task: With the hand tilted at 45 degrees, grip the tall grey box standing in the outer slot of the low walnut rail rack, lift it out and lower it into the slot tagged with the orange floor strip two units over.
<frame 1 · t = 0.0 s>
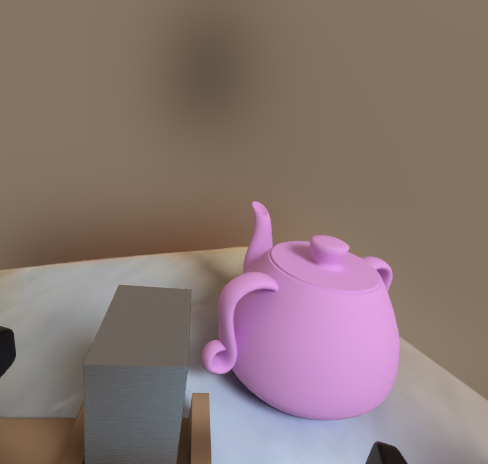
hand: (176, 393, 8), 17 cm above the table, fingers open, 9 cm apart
teapot: (283, 350, 35), on the table
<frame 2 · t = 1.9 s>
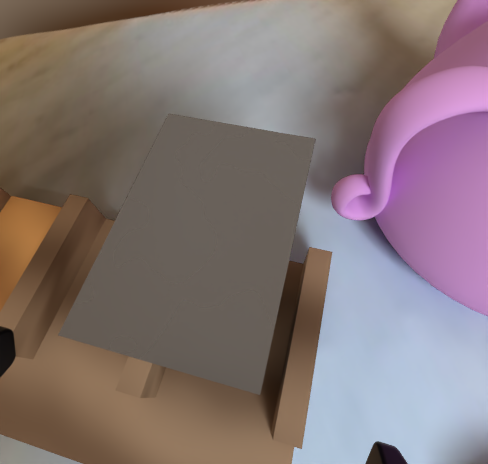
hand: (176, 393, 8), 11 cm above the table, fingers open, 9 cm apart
rail rack: (124, 298, 20), on the table
tall grey box: (235, 325, 18), point 1 cm above the table, touching rail rack
teapot: (463, 184, 23), on the table
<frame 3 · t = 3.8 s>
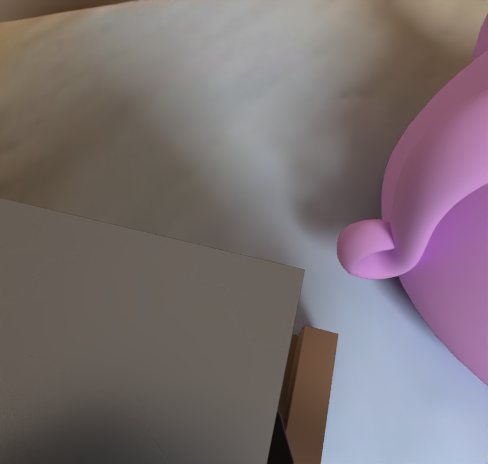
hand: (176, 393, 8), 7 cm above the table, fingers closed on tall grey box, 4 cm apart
rail rack: (55, 379, 15), on the table
tall grey box: (201, 430, 13), point 1 cm above the table, touching gripper, rail rack
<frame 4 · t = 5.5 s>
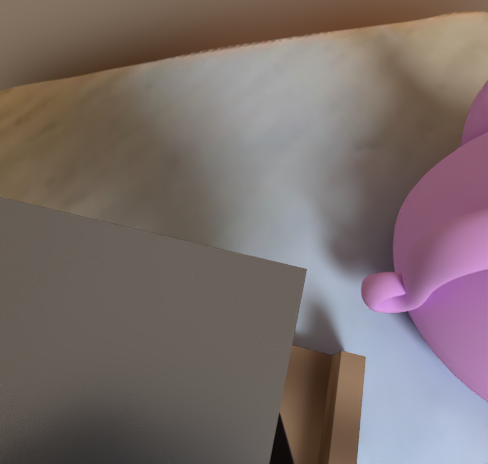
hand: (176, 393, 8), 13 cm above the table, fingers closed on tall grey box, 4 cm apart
rail rack: (146, 390, 19), on the table
tall grey box: (201, 430, 13), point 6 cm above the table, touching gripper
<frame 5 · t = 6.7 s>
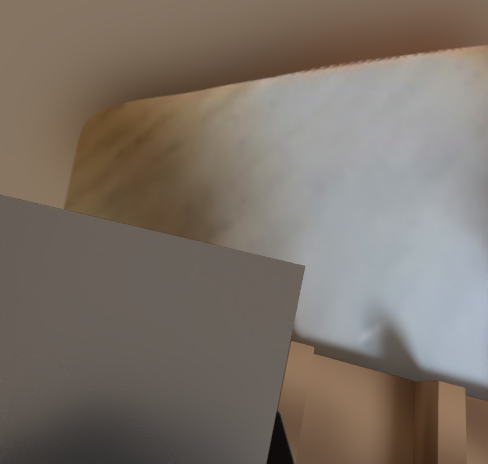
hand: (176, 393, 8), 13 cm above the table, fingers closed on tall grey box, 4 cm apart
rail rack: (345, 455, 17), on the table
tall grey box: (201, 429, 13), point 6 cm above the table, touching gripper
when the fingers open (9 cm above the table, at t = 7.7 s): tall grey box drops 1 cm, resting on rail rack.
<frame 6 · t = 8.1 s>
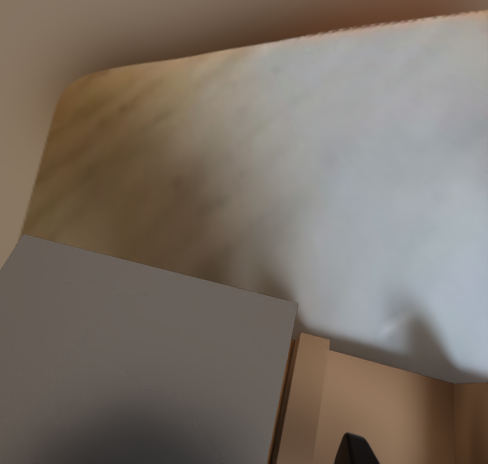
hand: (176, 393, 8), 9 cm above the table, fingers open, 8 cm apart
tall grey box: (207, 426, 14), point 1 cm above the table, touching rail rack
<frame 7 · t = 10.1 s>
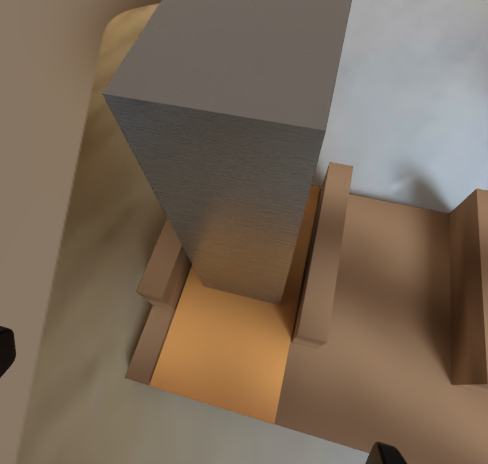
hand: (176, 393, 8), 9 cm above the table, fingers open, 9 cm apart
rail rack: (382, 281, 18), on the table
tall grey box: (255, 243, 17), point 1 cm above the table, touching rail rack
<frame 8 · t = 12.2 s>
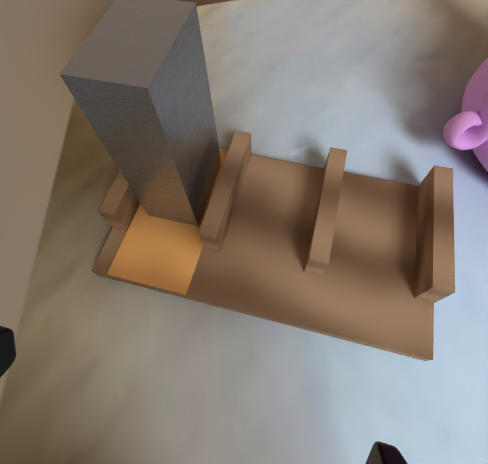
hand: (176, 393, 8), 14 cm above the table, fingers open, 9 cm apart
rail rack: (274, 214, 25), on the table
tall grey box: (186, 187, 25), point 1 cm above the table, touching rail rack
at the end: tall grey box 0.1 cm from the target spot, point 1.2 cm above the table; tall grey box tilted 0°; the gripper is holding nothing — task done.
